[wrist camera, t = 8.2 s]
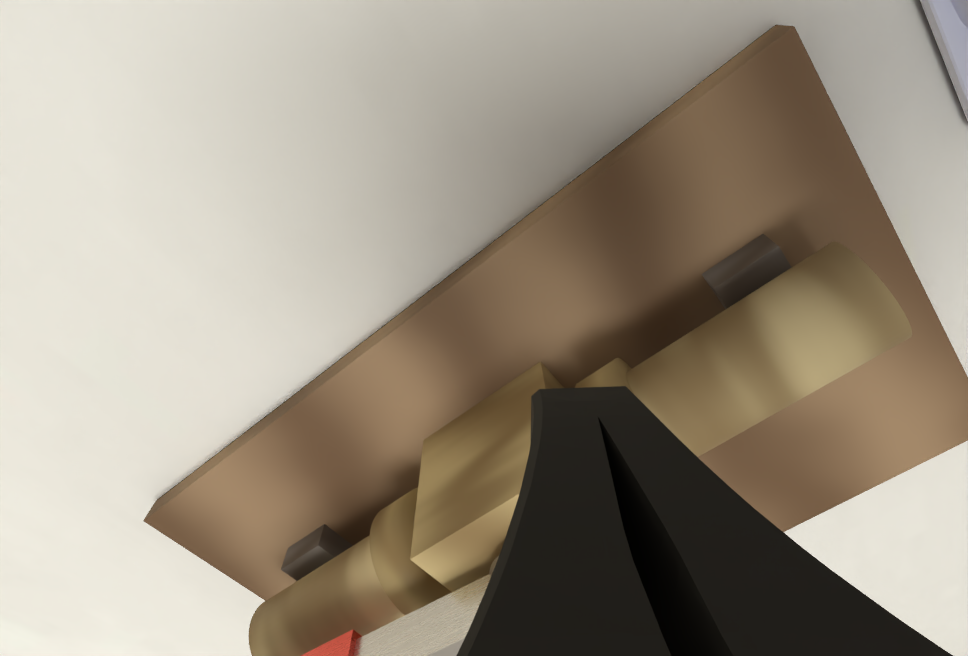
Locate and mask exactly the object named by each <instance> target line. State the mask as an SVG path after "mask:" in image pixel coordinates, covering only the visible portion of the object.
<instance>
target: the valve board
mask: <svg viewBox="0 0 968 656" xmlns="http://www.w3.org/2000/svg"><path fill="white" fill-rule="evenodd" d="M613 386H626V387H627V388H628V389H629V390H630V391H631V392H632V393H633V394H634V395H635V396H636V397H637V398H638V399H639V400H640V401H641V402H642V403H643V404H644V405H645V406H646V407H647V408H648V409H649V410H650V411H651V412H652V413H653V414H654V415H655V416H656V417H657V418H658V419H659V420H660V421H661V422H662V423H663V424H664V425H665V426H666V427H667V428H668V429H669V430H670V431H671V432H672V433H673V434H674V435H675V436H676V437H677V438H678V439H679V440H680V441H681V442H682V443H683V444H685V445H686V446H687V447H688V448H689V449H690V450H691V451H692V452H693V453H694V454H695V455H696V456H697V457H698V458H699V459H700V460H701V461H702V462H703V463H704V464H705V465H707V466H708V467H709V468H710V469H711V470H712V471H713V472H714V473H715V474H716V475H717V476H719V477H720V478H721V479H722V480H723V481H724V482H725V483H726V484H727V485H728V486H729V487H730V488H732V489H733V490H734V491H735V492H736V493H737V494H738V495H740V496H741V497H742V498H743V499H744V500H745V501H746V502H748V503H749V504H750V505H751V506H752V507H753V508H754V509H756V510H757V511H758V512H759V513H760V514H762V515H763V516H764V517H765V518H767V519H768V520H769V521H770V522H771V523H773V524H774V525H775V526H776V527H777V528H779V529H780V530H781V531H782V532H784V531H787V530H789V529H791V528H793V527H795V526H797V525H799V524H801V523H803V522H805V521H807V520H809V519H811V518H813V517H815V516H817V515H819V514H821V513H823V512H825V511H827V510H829V509H831V508H833V507H835V506H837V505H839V504H841V503H843V502H845V501H847V500H849V499H851V498H853V497H855V496H857V495H859V494H861V493H863V492H865V491H867V490H869V489H871V488H873V487H875V486H877V485H879V484H881V483H883V482H885V481H887V480H889V479H891V478H893V477H895V476H897V475H899V474H901V473H903V472H905V471H907V470H909V469H911V468H913V467H915V466H917V465H919V464H921V463H923V462H925V461H927V460H929V459H931V458H933V457H935V456H937V455H939V454H941V453H943V452H945V451H947V450H949V449H951V448H953V447H955V446H957V445H959V444H961V443H963V442H965V441H967V440H968V377H967V375H966V373H965V371H964V369H963V367H962V365H961V363H960V361H959V359H958V357H957V355H956V353H955V351H954V349H953V347H952V345H951V343H950V341H949V339H948V337H947V335H946V333H945V331H944V329H943V326H942V324H941V322H940V320H939V318H938V316H937V314H936V312H935V310H934V308H933V306H932V304H931V302H930V300H929V298H928V296H927V294H926V292H925V290H924V288H923V286H922V284H921V282H920V280H919V278H918V276H917V274H916V272H915V270H914V268H913V266H912V264H911V262H910V260H909V258H908V256H907V254H906V252H905V250H904V248H903V246H902V244H901V242H900V239H899V237H898V235H897V233H896V231H895V229H894V227H893V225H892V223H891V221H890V219H889V217H888V215H887V213H886V211H885V209H884V207H883V205H882V203H881V201H880V199H879V197H878V195H877V193H876V191H875V189H874V187H873V185H872V183H871V181H870V179H869V177H868V175H867V173H866V171H865V169H864V167H863V165H862V163H861V161H860V159H859V157H858V155H857V152H856V150H855V148H854V146H853V144H852V142H851V140H850V138H849V136H848V134H847V132H846V130H845V128H844V126H843V124H842V122H841V120H840V118H839V116H838V114H837V112H836V110H835V108H834V106H833V104H832V102H831V100H830V98H829V96H828V94H827V92H826V90H825V88H824V86H823V84H822V82H821V80H820V78H819V76H818V74H817V72H816V70H815V68H814V66H813V63H812V61H811V59H810V57H809V55H808V53H807V51H806V49H805V47H804V45H803V43H802V41H801V39H800V37H799V35H798V33H797V31H796V29H795V27H794V26H783V25H775V26H774V27H773V28H771V29H770V30H769V31H767V32H766V33H765V34H763V35H762V36H761V37H759V38H758V39H757V40H756V41H754V42H753V43H752V44H750V45H749V46H748V47H746V48H745V49H744V50H743V51H741V52H740V53H739V54H737V55H736V56H735V57H733V58H732V59H731V60H730V61H728V62H727V63H726V64H724V65H723V66H722V67H720V68H719V69H718V70H717V71H715V72H714V73H713V74H711V75H710V76H709V77H707V78H706V79H705V80H703V81H702V82H701V83H700V84H698V85H697V86H696V87H694V88H693V89H692V90H690V91H689V92H688V93H687V94H685V95H684V96H683V97H681V98H680V99H679V100H677V101H676V102H675V103H674V104H672V105H671V106H670V107H668V108H667V109H666V110H664V111H663V112H662V113H661V114H659V115H658V116H657V117H655V118H654V119H653V120H651V121H650V122H649V123H648V124H646V125H645V126H644V127H642V128H641V129H640V130H638V131H637V132H636V133H634V134H633V135H632V136H631V137H629V138H628V139H627V140H625V141H624V142H623V143H621V144H620V145H619V146H618V147H616V148H615V149H614V150H612V151H611V152H610V153H608V154H607V155H606V156H605V157H603V158H602V159H601V160H599V161H598V162H597V163H595V164H594V165H593V166H592V167H590V168H589V169H588V170H586V171H585V172H584V173H582V174H581V175H580V176H578V177H577V178H576V179H575V180H573V181H572V182H571V183H569V184H568V185H567V186H565V187H564V188H563V189H562V190H560V191H559V192H558V193H556V194H555V195H554V196H552V197H551V198H550V199H549V200H547V201H546V202H545V203H543V204H542V205H541V206H539V207H538V208H537V209H536V210H534V211H533V212H532V213H530V214H529V215H528V216H526V217H525V218H524V219H523V220H521V221H520V222H519V223H517V224H516V225H515V226H513V227H512V228H511V229H509V230H508V231H507V232H506V233H504V234H503V235H502V236H500V237H499V238H498V239H496V240H495V241H494V242H493V243H491V244H490V245H489V246H487V247H486V248H485V249H483V250H482V251H481V252H480V253H478V254H477V255H476V256H474V257H473V258H472V259H470V260H469V261H468V262H467V263H465V264H464V265H463V266H461V267H460V268H459V269H457V270H456V271H455V272H453V273H452V274H451V275H450V276H448V277H447V278H446V279H444V280H443V281H442V282H440V283H439V284H438V285H437V286H435V287H434V288H433V289H431V290H430V291H429V292H427V293H426V294H425V295H424V296H422V297H421V298H420V299H418V300H417V301H416V302H414V303H413V304H412V305H411V306H409V307H408V308H407V309H405V310H404V311H403V312H401V313H400V314H399V315H398V316H396V317H395V318H394V319H392V320H391V321H390V322H388V323H387V324H386V325H384V326H383V327H382V328H381V329H379V330H378V331H377V332H375V333H374V334H373V335H371V336H370V337H369V338H368V339H366V340H365V341H364V342H362V343H361V344H360V345H358V346H357V347H356V348H355V349H353V350H352V351H351V352H349V353H348V354H347V355H345V356H344V357H343V358H342V359H340V360H339V361H338V362H336V363H335V364H334V365H332V366H331V367H330V368H328V369H327V370H326V371H325V372H323V373H322V374H321V375H319V376H318V377H317V378H315V379H314V380H313V381H312V382H310V383H309V384H308V385H306V386H305V387H304V388H302V389H301V390H300V391H299V392H297V393H296V394H295V395H293V396H292V397H291V398H289V399H288V400H287V401H286V402H284V403H283V404H282V405H280V406H279V407H278V408H276V409H275V410H274V411H273V412H271V413H270V414H269V415H267V416H266V417H265V418H263V419H262V420H261V421H259V422H258V423H257V424H256V425H254V426H253V427H252V428H250V429H249V430H248V431H246V432H245V433H244V434H243V435H241V436H240V437H239V438H237V439H236V440H235V441H233V442H232V443H231V444H230V445H228V446H227V447H226V448H224V449H223V450H222V451H220V452H219V453H218V454H217V455H215V456H214V457H213V458H211V459H210V460H209V461H207V462H206V463H205V464H203V465H202V466H201V467H200V468H198V469H197V470H196V471H194V472H193V473H192V474H190V475H189V476H188V477H187V478H185V479H184V480H183V481H181V482H180V483H179V484H177V485H176V486H175V487H174V488H172V489H171V490H170V491H168V492H167V493H166V494H164V495H163V496H162V497H161V498H159V499H158V500H157V501H156V502H155V503H154V505H153V506H152V508H151V510H150V511H149V513H148V514H147V516H146V517H145V519H144V522H146V523H147V524H149V525H150V526H152V527H154V528H155V529H157V530H158V531H160V532H161V533H163V534H164V535H166V536H167V537H169V538H170V539H172V540H173V541H175V542H176V543H178V544H180V545H181V546H183V547H184V548H186V549H187V550H189V551H190V552H192V553H193V554H195V555H196V556H198V557H199V558H201V559H203V560H204V561H206V562H207V563H209V564H210V565H212V566H213V567H215V568H216V569H218V570H219V571H221V572H222V573H224V574H225V575H227V576H229V577H230V578H232V579H233V580H235V581H236V582H238V583H239V584H241V585H242V586H244V587H245V588H247V589H248V590H250V591H252V592H253V593H255V594H256V595H258V596H259V597H261V598H262V599H264V600H265V602H264V603H262V604H261V605H260V606H259V607H258V608H257V610H256V611H255V613H254V615H253V617H252V619H251V623H250V628H249V645H250V650H251V654H252V656H301V655H303V654H305V653H307V652H309V651H311V650H313V649H315V648H317V647H319V646H321V645H323V644H325V643H327V642H329V641H331V640H333V639H335V638H337V637H339V636H341V635H343V634H345V633H347V632H349V631H351V630H353V629H354V630H355V631H356V632H357V633H359V634H360V635H361V636H364V635H366V634H369V633H371V632H373V631H375V630H377V629H379V628H381V627H383V626H385V625H387V624H389V623H391V622H393V621H395V620H397V619H399V618H401V617H403V616H405V615H407V614H409V613H411V612H413V611H415V610H417V609H419V608H421V607H423V606H425V605H427V604H429V603H431V602H433V601H435V600H437V599H439V598H442V597H444V596H446V595H448V594H450V593H452V592H454V591H456V590H458V589H460V588H462V587H464V586H466V585H468V584H470V583H472V582H474V581H476V580H478V579H480V578H482V577H484V576H486V575H488V574H489V571H490V567H491V564H492V563H493V561H494V560H495V558H496V557H497V556H498V555H499V554H500V552H501V549H502V546H503V543H504V540H505V537H506V534H507V531H508V528H509V525H510V522H511V519H512V516H513V513H514V510H515V507H516V504H517V500H518V497H519V493H520V490H521V486H522V481H523V477H524V473H525V469H526V464H527V460H528V456H529V451H530V444H531V396H532V395H533V394H534V393H535V392H537V391H538V390H539V389H553V388H583V387H613Z"/></svg>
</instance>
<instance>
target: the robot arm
mask: <svg viewBox="0 0 968 656" xmlns="http://www.w3.org/2000/svg"><path fill="white" fill-rule="evenodd" d="M920 2H921V4H922V7H923V9H924V12H925V14H926V17H927V20H928V22H929V25H930V27H931V30H932V32H933V35H934V37H935V40H936V42H937V45H938V47H939V50H940V53H941V55H942V58H943V60H944V63H945V65H946V68H947V70H948V73H949V75H950V78H951V80H952V83H953V86H954V88H955V91H956V93H957V96H958V98H959V101H960V103H961V106H962V108H963V111H964V113H965V116H966V118H967V121H968V0H920ZM457 656H953V655H951V654H950V653H948V652H947V651H945V650H943V649H942V648H940V647H939V646H937V645H936V644H935V643H933V642H932V641H930V640H929V639H927V638H926V637H924V636H923V635H921V634H920V633H918V632H917V631H915V630H914V629H912V628H911V627H909V626H908V625H907V624H905V623H904V622H902V621H901V620H899V619H898V618H896V617H895V616H894V615H892V614H891V613H889V612H888V611H887V610H885V609H884V608H883V607H881V606H880V605H878V604H877V603H876V602H874V601H873V600H871V599H870V598H869V597H867V596H866V595H865V594H863V593H862V592H860V591H859V590H858V589H856V588H855V587H854V586H852V585H851V584H849V583H848V582H847V581H845V580H844V579H843V578H841V577H840V576H838V575H837V574H836V573H834V572H833V571H832V570H830V569H829V568H828V567H826V566H825V565H824V564H822V563H821V562H820V561H819V560H817V559H816V558H815V557H813V556H812V555H811V554H809V553H808V552H807V551H806V550H804V549H803V548H802V547H801V546H799V545H798V544H797V543H796V542H794V541H793V540H792V539H791V538H790V537H788V536H787V535H786V534H785V533H783V532H782V531H781V530H780V529H779V528H777V527H776V526H775V525H774V524H773V523H771V522H770V521H769V520H768V519H767V518H765V517H764V516H763V515H762V514H760V513H759V512H758V511H757V510H756V509H754V508H753V507H752V506H751V505H750V504H749V503H748V502H746V501H745V500H744V499H743V498H742V497H741V496H740V495H738V494H737V493H736V492H735V491H734V490H733V489H732V488H730V487H729V486H728V485H727V484H726V483H725V482H724V481H723V480H722V479H721V478H720V477H719V476H717V475H716V474H715V473H714V472H713V471H712V470H711V469H710V468H709V467H708V466H707V465H705V464H704V463H703V462H702V461H701V460H700V459H699V458H698V457H697V456H696V455H695V454H694V453H693V452H692V451H691V450H690V449H689V448H688V447H687V446H686V445H685V444H683V443H682V442H681V441H680V440H679V439H678V438H677V437H676V436H675V435H674V434H673V433H672V432H671V431H670V430H669V429H668V428H667V427H666V426H665V425H664V424H663V423H662V422H661V421H660V420H659V419H658V418H657V417H656V416H655V415H654V414H653V413H652V412H651V411H650V410H649V409H648V408H647V407H646V406H645V405H644V404H643V403H642V402H641V401H640V400H639V399H638V398H637V397H636V396H635V395H634V394H633V393H632V392H631V391H630V390H629V389H628V388H627V387H626V386H613V387H583V388H553V389H539V390H538V391H537V392H535V393H534V394H533V395H532V396H531V444H530V451H529V456H528V460H527V464H526V469H525V473H524V477H523V481H522V486H521V490H520V493H519V497H518V500H517V504H516V507H515V510H514V513H513V516H512V519H511V522H510V525H509V528H508V531H507V534H506V537H505V540H504V543H503V546H502V549H501V552H500V555H499V557H498V560H497V563H496V565H495V568H494V571H493V573H492V576H491V578H490V581H489V583H488V586H487V588H486V591H485V593H484V595H483V598H482V600H481V603H480V605H479V607H478V610H477V612H476V614H475V617H474V619H473V621H472V624H471V626H470V628H469V630H468V632H467V635H466V637H465V639H464V641H463V643H462V645H461V647H460V649H459V651H458V654H457Z"/></svg>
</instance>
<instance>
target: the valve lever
mask: <svg viewBox="0 0 968 656" xmlns="http://www.w3.org/2000/svg"><path fill="white" fill-rule="evenodd" d="M499 555H500V554H499ZM499 555H498V556H497V557H496V558H495V560H494V561H493V563H492V564H491V567H490V571H489V574H488V575H486V576H484V577H482V578H480V579H478V580H476V581H474V582H472V583H470V584H468V585H466V586H464V587H462V588H460V589H458V590H456V591H454V592H452V593H450V594H448V595H446V596H444V597H442V598H439V599H437V600H435V601H433V602H431V603H429V604H427V605H425V606H423V607H421V608H419V609H417V610H415V611H413V612H411V613H409V614H407V615H405V616H403V617H401V618H399V619H397V620H395V621H393V622H391V623H389V624H387V625H385V626H383V627H381V628H379V629H377V630H375V631H373V632H371V633H369V634H366V635H364V636H361V635H360V634H359V633H357V632H356V631H355V630H354V629H353V630H351V631H349V632H347V633H345V634H343V635H341V636H339V637H337V638H335V639H333V640H331V641H329V642H327V643H325V644H323V645H321V646H319V647H317V648H315V649H313V650H311V651H309V652H307V653H305V654H303V655H301V656H457V654H458V651H459V649H460V647H461V645H462V643H463V641H464V639H465V637H466V635H467V632H468V630H469V628H470V626H471V624H472V621H473V619H474V617H475V614H476V612H477V610H478V607H479V605H480V603H481V600H482V598H483V595H484V593H485V591H486V588H487V586H488V583H489V581H490V578H491V576H492V573H493V571H494V568H495V565H496V563H497V560H498V557H499Z"/></svg>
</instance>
